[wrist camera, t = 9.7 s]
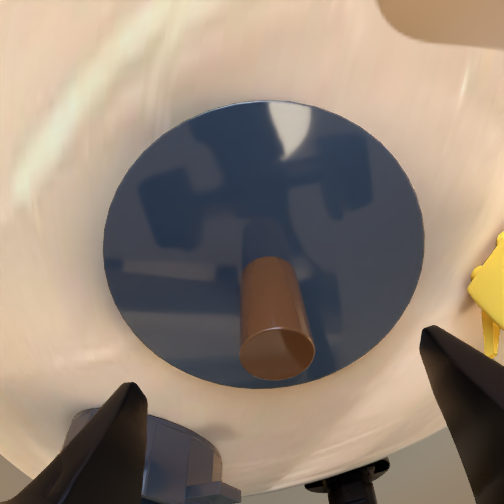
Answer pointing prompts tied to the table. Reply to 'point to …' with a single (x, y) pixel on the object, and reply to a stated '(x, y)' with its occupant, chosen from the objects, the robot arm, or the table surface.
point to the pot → (175, 465)
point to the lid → (263, 244)
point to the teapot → (490, 296)
